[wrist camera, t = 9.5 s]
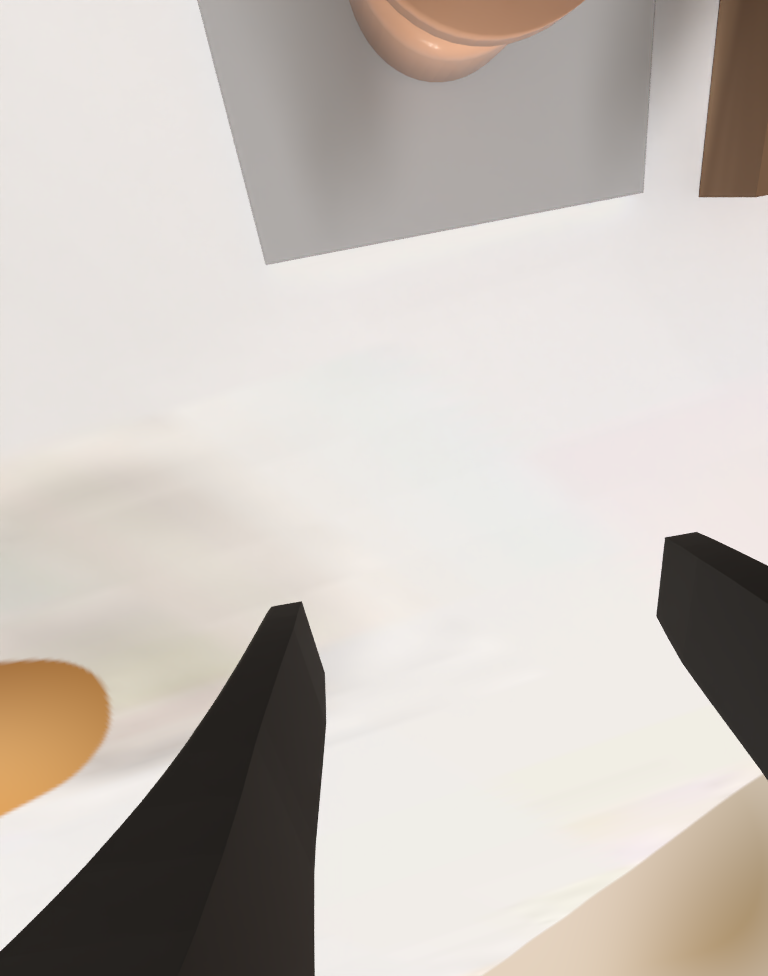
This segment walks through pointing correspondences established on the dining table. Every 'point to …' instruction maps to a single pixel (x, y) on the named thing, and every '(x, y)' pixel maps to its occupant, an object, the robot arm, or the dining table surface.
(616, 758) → the dining table surface
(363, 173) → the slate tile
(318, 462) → the dining table surface
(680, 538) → the robot arm
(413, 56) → the terracotta pot
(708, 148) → the cold frame
